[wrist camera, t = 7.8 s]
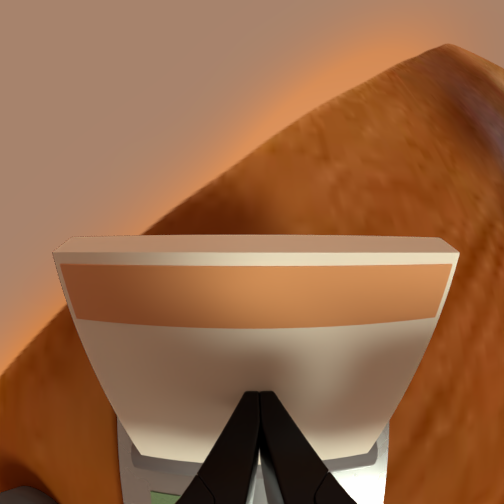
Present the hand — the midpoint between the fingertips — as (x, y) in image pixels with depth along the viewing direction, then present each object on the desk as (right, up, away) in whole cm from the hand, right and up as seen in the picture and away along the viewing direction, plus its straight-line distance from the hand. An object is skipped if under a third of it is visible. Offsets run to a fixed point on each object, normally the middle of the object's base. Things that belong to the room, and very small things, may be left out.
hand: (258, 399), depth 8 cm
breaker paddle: (0, -5, +3) cm, 6 cm away
